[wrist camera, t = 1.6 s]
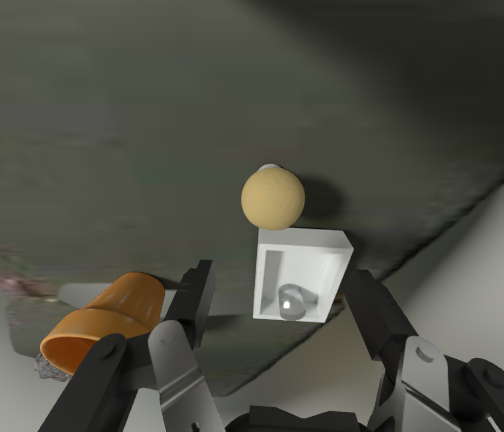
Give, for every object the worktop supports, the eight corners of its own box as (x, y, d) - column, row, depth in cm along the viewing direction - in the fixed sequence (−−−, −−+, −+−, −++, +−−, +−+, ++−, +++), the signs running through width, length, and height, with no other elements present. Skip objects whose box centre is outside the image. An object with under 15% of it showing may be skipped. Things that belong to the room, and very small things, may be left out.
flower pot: (99, 293, 40) (38, 368, 29) (112, 248, 34) (39, 322, 23) (165, 317, 44) (133, 392, 33) (189, 279, 37) (158, 357, 26)
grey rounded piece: (279, 282, 33) (281, 304, 30) (303, 284, 33) (308, 306, 29) (276, 298, 35) (278, 319, 32) (299, 299, 35) (303, 321, 32)
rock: (53, 353, 55) (110, 362, 58) (31, 382, 50) (94, 391, 53) (45, 332, 49) (109, 344, 52) (18, 362, 44) (92, 374, 46)
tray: (259, 220, 30) (259, 243, 25) (339, 225, 30) (353, 249, 25) (254, 290, 38) (253, 318, 33) (316, 294, 38) (324, 322, 33)
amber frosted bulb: (302, 160, 25) (323, 192, 16) (283, 203, 28) (293, 249, 20) (253, 145, 24) (249, 170, 16) (240, 190, 27) (231, 233, 19)
